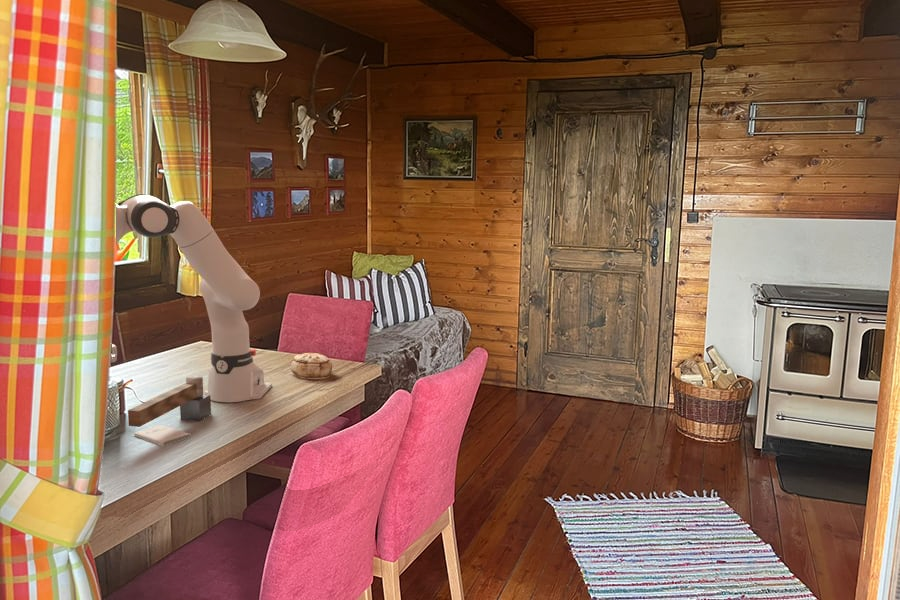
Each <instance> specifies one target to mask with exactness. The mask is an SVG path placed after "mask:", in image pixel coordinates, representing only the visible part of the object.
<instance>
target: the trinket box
mask: <svg viewBox="0 0 900 600" xmlns="http://www.w3.org/2000/svg"><path fill="white" fill-rule="evenodd" d="M290 371H291V372H292V374H293V376H295V377H297V378H299V379H305V380H306V379H307V380H325V379H328V378H330V377H331V373H332V372H333V363H332V361H331V359H330V358H329V357H327V356H326V355H324V354H322V353H319V352H303V353H299V354H297V355H295V356H293V357H292V360H291V362H290Z"/></svg>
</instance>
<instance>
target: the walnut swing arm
mask: <svg viewBox="0 0 900 600" xmlns="http://www.w3.org/2000/svg"><path fill="white" fill-rule="evenodd" d="M203 394H204V377H203V376H200V375H191V376H188V377H187V376H186V378H185V383H182V384H181V385H179V386H177V387H174V388H172V389H170V390H168V391H166V392H163V393H162V394H159V395H157V396H155V397H153V398H151V399H149V400H147V401H144V402H143V403H139V405H136V406H134V407H132V408H129V409H128V410H127V417H128V427H134V428H135V427H139V428H141V427H143V426H144V425H146V424H148V423H150V422H153V421H154V420H156V419H158V418H160V417H161V416H163V415H165V414H168V413H169V412H171V411H173V410H175V409H177V408H178V407H179V408H180V406H181V405H183V404H185V403H187V402H189V401H190V400H192V399H194V398H196V397H200V396H203Z"/></svg>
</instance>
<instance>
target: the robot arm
mask: <svg viewBox="0 0 900 600" xmlns="http://www.w3.org/2000/svg"><path fill="white" fill-rule="evenodd" d="M115 204H116V247H117V246H118V244H119V243H120V240H122V239H123V237H124V236H126V235H127V234H129V233H132V232H133V233H134V232H135V233H136V234H139V235H141V236H143V237H145V238H160V237H163V236H168V235H169V236H171V237H172V239H174V241H175V244H176V245H177V247H178V248H179V250H180V251H181V253H182V255H183V256H184V258H185V259H186V260H187V262H188V263H189V265H190V267H191V268H192V269H193V270H194V271H195V272H196V273H197V274H198V275H199V276H200V277H201V279H200V281H199V285H198V286H199V293H200V295H201V296H202V298H203V300H204V304H205V307H206V312H207V315H208V319H209V324H210V330H211V347H212V352H211V353H210V360H211V361H210V362H211V363H210V364H211V367H210V368H209V369H208V377H207V390H204V394H208V395H211V402H212V401H213V402H219V403H237V402H245V401H249V400H259V399H261V398H263V397H264V395H265V394H266V393H267V392H268V391H269V390H270V389H271V387H272V386H273V385H272V384H273V383H271V382H268V381H265V374H264V370H263V368H262V367H260V366H259V365H258V364H256V363H255V362H254V357H253V356H256V355H257V350H256V349H251V347H250V328H249V324H248V322H247V321H246V318H245V316H244V313H243V311H249V310H251V309H253V308H254V307H255V306H256V305H257V304H258V302H259V300H260V296H261V292H260V287H259V285H258V284H257V282H255V281H254V280H253V279H252V278H251V277H250V276H249V275H248V274H247V272H246V271H245V270H244V268H242V267H241V265H239V263H238V262H237V261H236V260H235V258H234V257H233V256H232V255H231V254H230V252H228V250H227V249H226V247H225V246H224V244H223V243H222V241H221V239H220V238H219V236H218V235H217V234H218V233H216V231H215V229H214V228H213V227H212V224H210V222H209V220H208V219H207V217H206V216H205V215H204V214H203V212H202V211H201V210H200V209H199V208H198V207H197V206H196V204H194V203H193V202H192V201H188V200H184V201H183V200H182V201H177V202H175V203H173V204H172V205H169V204H168V203H166V202H164V201H162V200H160V199H159V198H157V197H155V196H153V195H148V194H140V193H139V194H135V195H132V196H129V197H127V198H126V199H124V200H121V201H120V202H118V203H115ZM111 344H112V353H111V362H110V363H115V362H117V361H118V358H117V357H118V348H117V345H115V344H114V343H111Z"/></svg>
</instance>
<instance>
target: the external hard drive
mask: <svg viewBox="0 0 900 600" xmlns="http://www.w3.org/2000/svg"><path fill="white" fill-rule="evenodd" d="M134 437H135V438H140V439H143V440H144V439H145V440H144V441H147V440H148V442H150V441H151V443H153V442H154V444H156V443H157V444H156V445H159V444H160V445H159V446H162V447H165V446H167V444H168V445H171V444H173V443H174V444H175V443H176V442H180V441H183V440H186V439H189V438H191V437H192V435H191V433H189V432H186V431H183V430H179V429H175V428H172V427H169V426H166V425H163V424H159V425H155V426H152V427H149V428H145V429H142V430H139V431H136V432H134ZM188 437H189V438H188ZM185 438H186V439H185ZM182 439H183V440H182ZM179 440H180V441H179ZM170 443H171V444H170ZM164 445H165V446H164Z"/></svg>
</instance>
